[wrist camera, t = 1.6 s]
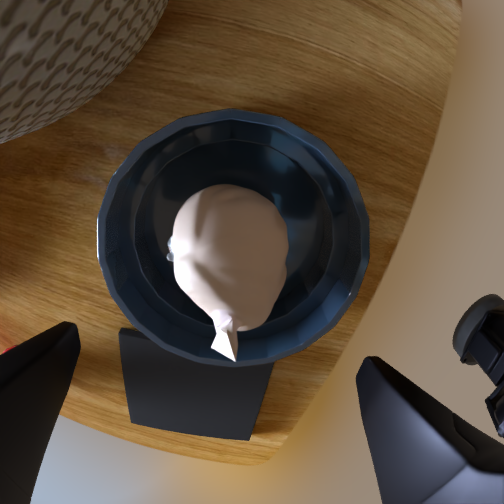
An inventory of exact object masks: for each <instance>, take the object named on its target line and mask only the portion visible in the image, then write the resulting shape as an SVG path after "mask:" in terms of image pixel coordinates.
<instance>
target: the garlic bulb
mask: <svg viewBox="0 0 504 504" xmlns="http://www.w3.org/2000/svg"><path fill="white" fill-rule="evenodd" d="M168 247H169V252H170V253H168V255H167V260H169V261H172V262H174V274H175V278H176V281H177V283H178V285H179V286H180V288H181V289H182V290H183V291H184V292H185V293H186V294H187V295H188V296H189V297H190V298H191V299H192V300H193V301H194V302H195V303H196V304H197V305H198V306H199V307H200V308H202V309H203V310H204V311H205V312H206V313H207V314H208V315H209V316H210V317H211V318H212V319H213V321H214V325H215V328H216V332H217V335H216V337H215V339H214V342H213V344H212V346H211V348H213V349H215V350H216V351H218V352H220V353H221V354H223V355H225V356H226V357H228V358H230V359H232V360H233V361H235V362H236V357H237V349H238V341H237V331H247V330H251V329H254V328H256V327H259V326H260V325H262V324H263V323H264V322H265V321H266V319H267V318H268V316H269V314H270V313H271V310H272V308H273V305H274V303H275V301H276V300H277V298H278V296H279V294H280V292H281V290H282V288H283V286H284V283H285V280H286V275H287V269H286V265H285V262H286V257H287V254H288V249H289V244H288V237H287V226H286V223H285V221H284V220H283V218H282V217H281V215H280V214H279V212H278V210H277V208H276V206H275V205H274V204H273V203H272V202H271V201H269V200H268V199H267V198H265V197H263V196H262V195H260V194H259V193H257V192H256V191H253V190H251V189H247V188H243V187H240V186H236V185H230V184H220V185H214V186H210V187H207V188H205V189H203V190H201V191H199V192H197V193H195V194H194V195H192V196H191V197H190V198H189V199H187V200H186V201H185V203H184V204H183V205H182V207H181V208H180V210H179V212H178V214H177V216H176V219H175V223H174V228H173V235H172V236H171V237H170V239H169V241H168Z"/></svg>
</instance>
